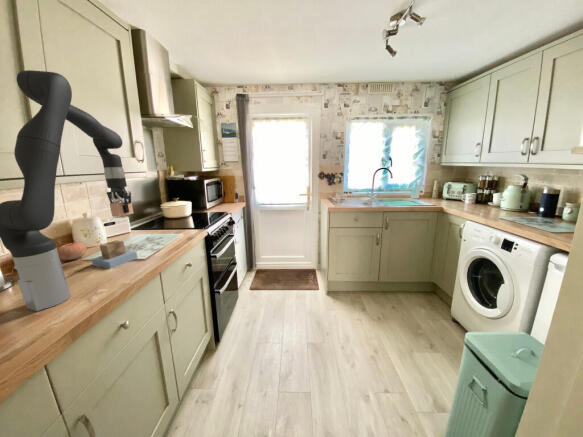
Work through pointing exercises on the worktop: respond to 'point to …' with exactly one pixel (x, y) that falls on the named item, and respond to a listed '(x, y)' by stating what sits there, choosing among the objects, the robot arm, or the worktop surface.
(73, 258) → the reddish brown rounded lump
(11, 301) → the worktop surface
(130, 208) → the terracotta brick
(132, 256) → the base plate
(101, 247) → the walnut brick
